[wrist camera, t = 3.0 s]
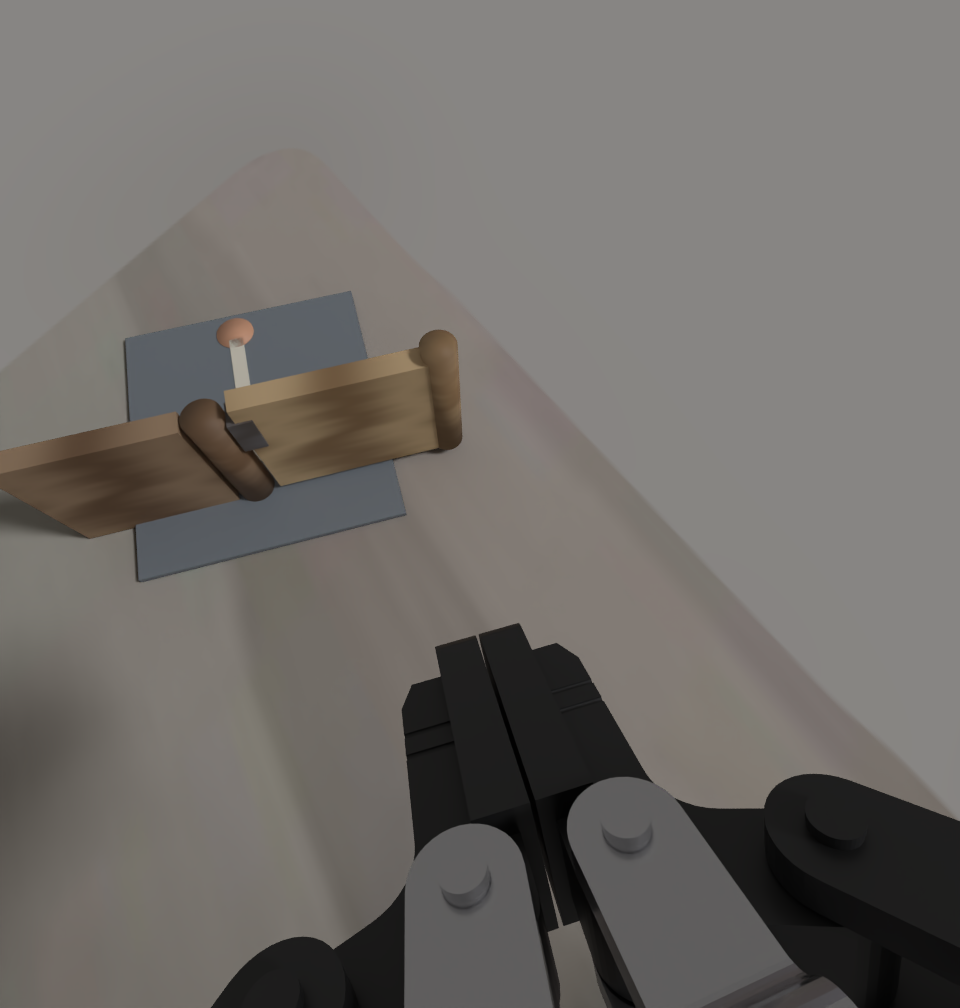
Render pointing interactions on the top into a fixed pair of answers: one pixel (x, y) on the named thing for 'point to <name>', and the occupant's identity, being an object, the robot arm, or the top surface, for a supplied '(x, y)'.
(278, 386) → the fence gate
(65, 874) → the top surface
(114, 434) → the fence fixed
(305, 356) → the board
